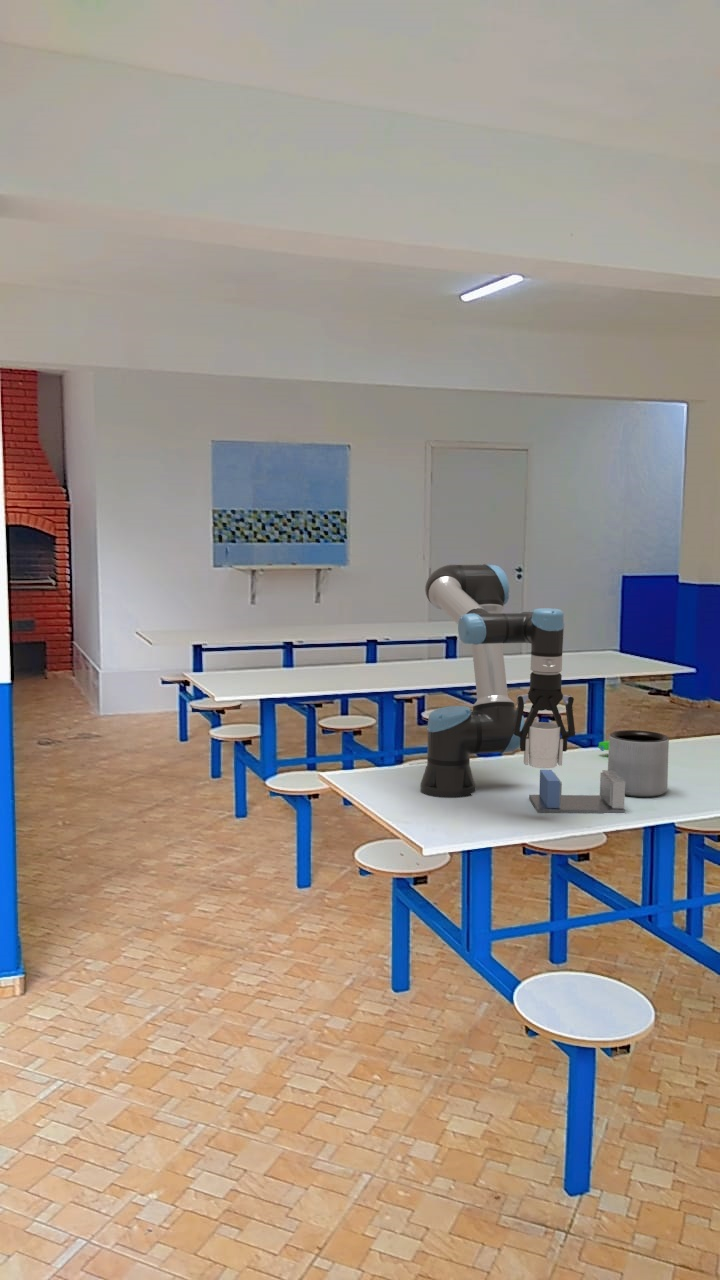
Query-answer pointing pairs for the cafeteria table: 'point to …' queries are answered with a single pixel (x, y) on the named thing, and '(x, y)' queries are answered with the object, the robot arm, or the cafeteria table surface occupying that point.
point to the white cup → (543, 744)
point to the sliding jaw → (550, 789)
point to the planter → (640, 761)
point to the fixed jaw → (612, 789)
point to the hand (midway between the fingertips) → (542, 763)
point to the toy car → (604, 745)
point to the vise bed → (575, 805)
